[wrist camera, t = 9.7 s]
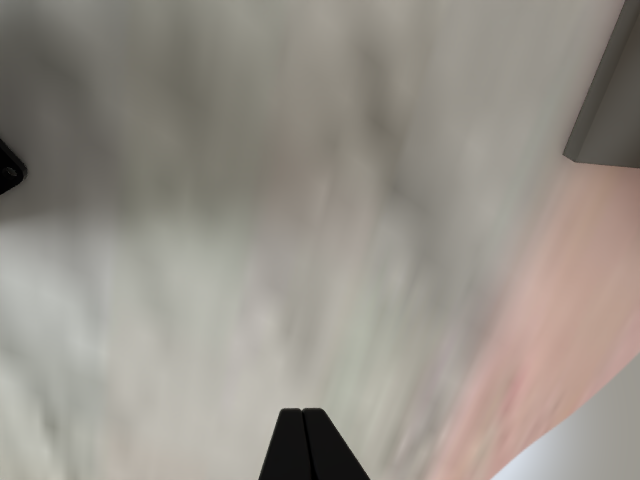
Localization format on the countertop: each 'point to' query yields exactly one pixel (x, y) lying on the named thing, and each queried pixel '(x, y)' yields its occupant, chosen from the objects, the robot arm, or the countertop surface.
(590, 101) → the base plate
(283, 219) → the countertop surface
